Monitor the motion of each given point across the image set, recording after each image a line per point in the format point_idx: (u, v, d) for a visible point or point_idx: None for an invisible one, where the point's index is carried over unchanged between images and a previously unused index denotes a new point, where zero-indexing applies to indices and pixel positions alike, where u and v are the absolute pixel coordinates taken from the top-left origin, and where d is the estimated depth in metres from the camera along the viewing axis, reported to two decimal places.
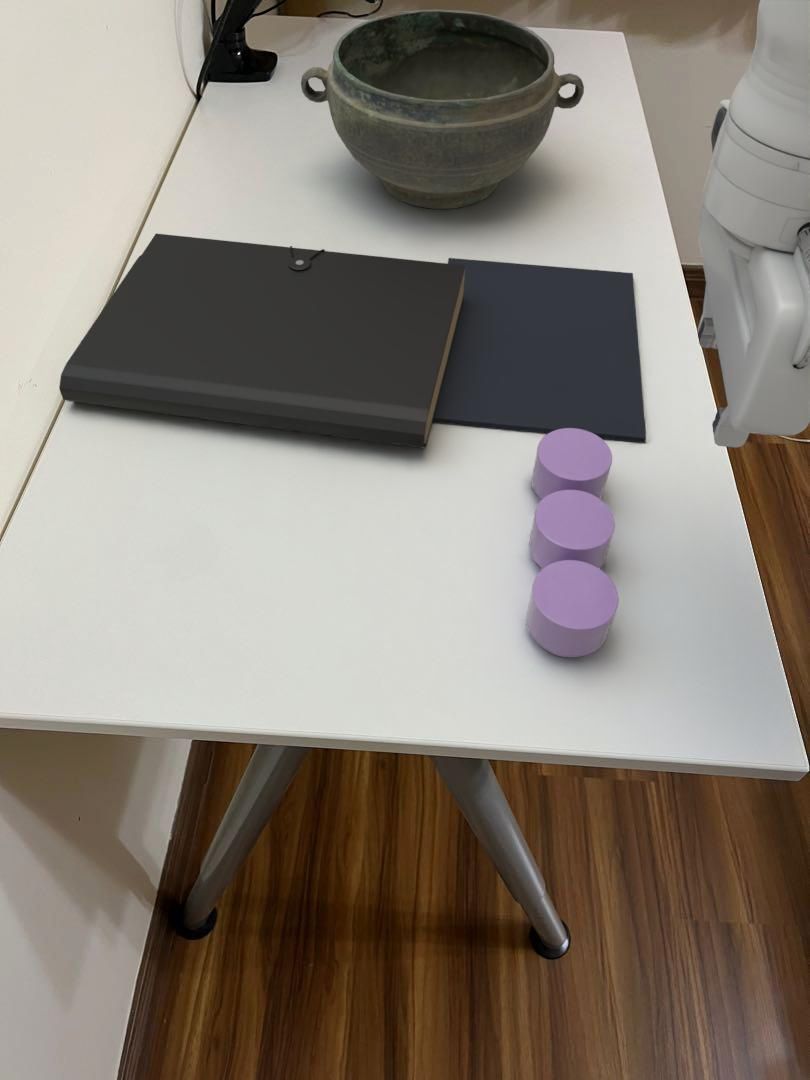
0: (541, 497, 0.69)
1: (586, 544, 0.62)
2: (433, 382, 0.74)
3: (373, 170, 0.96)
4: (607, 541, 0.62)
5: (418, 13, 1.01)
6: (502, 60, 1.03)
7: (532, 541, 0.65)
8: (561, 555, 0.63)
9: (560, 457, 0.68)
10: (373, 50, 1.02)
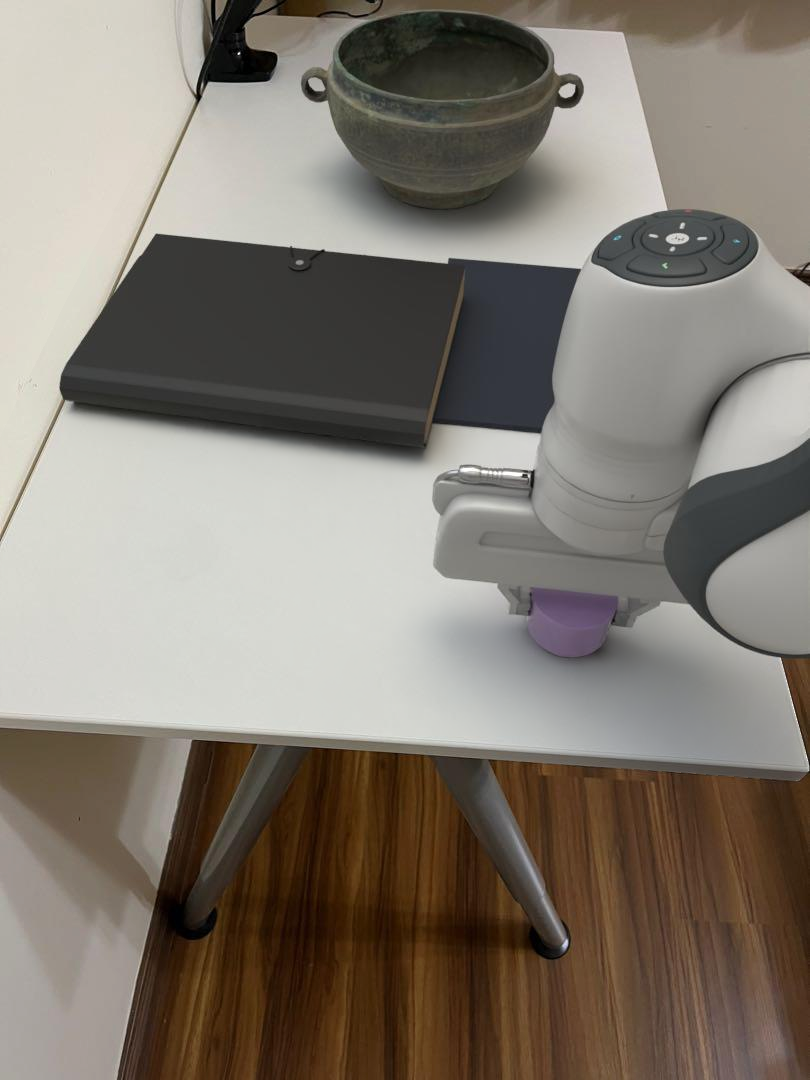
0: None
1: None
2: (433, 382, 0.74)
3: (373, 170, 0.96)
4: None
5: (418, 12, 1.01)
6: (502, 60, 1.03)
7: None
8: None
9: None
10: (373, 50, 1.02)
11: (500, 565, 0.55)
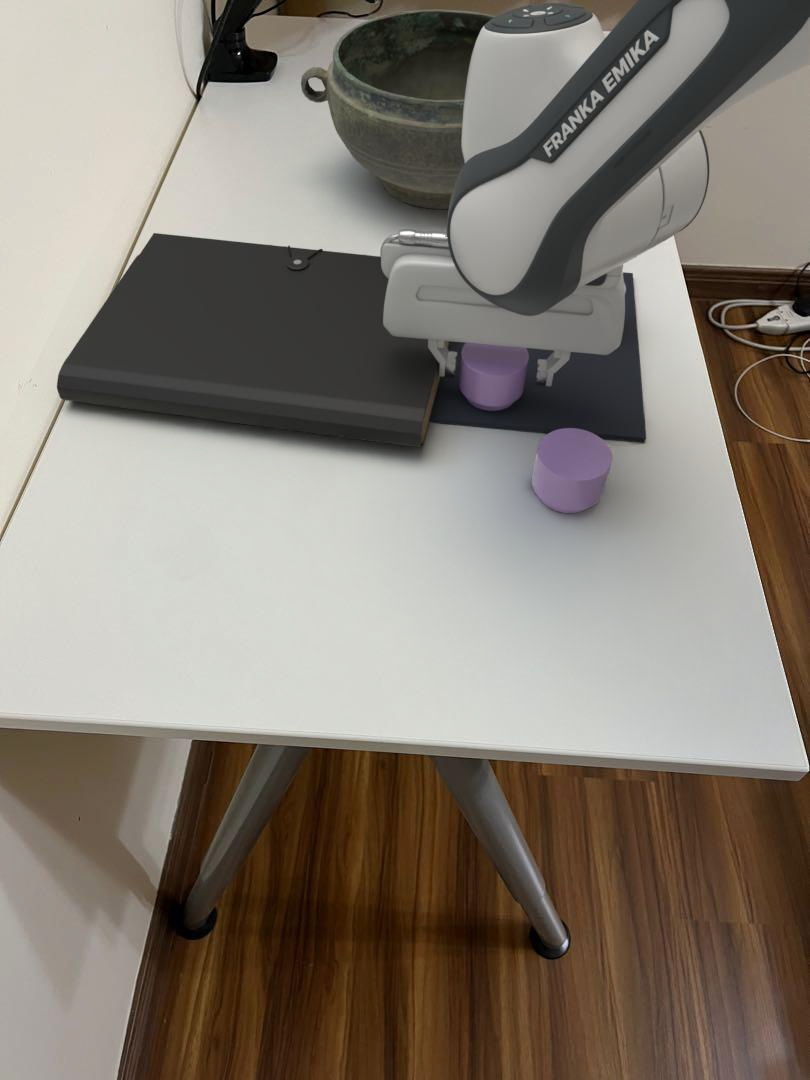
0: (541, 497, 0.69)
1: (503, 372, 0.73)
2: (430, 382, 0.74)
3: (373, 170, 0.96)
4: (521, 370, 0.74)
5: (418, 13, 1.01)
6: None
7: (460, 376, 0.76)
8: (482, 383, 0.74)
9: (560, 457, 0.68)
10: (373, 50, 1.02)
11: (434, 319, 0.71)
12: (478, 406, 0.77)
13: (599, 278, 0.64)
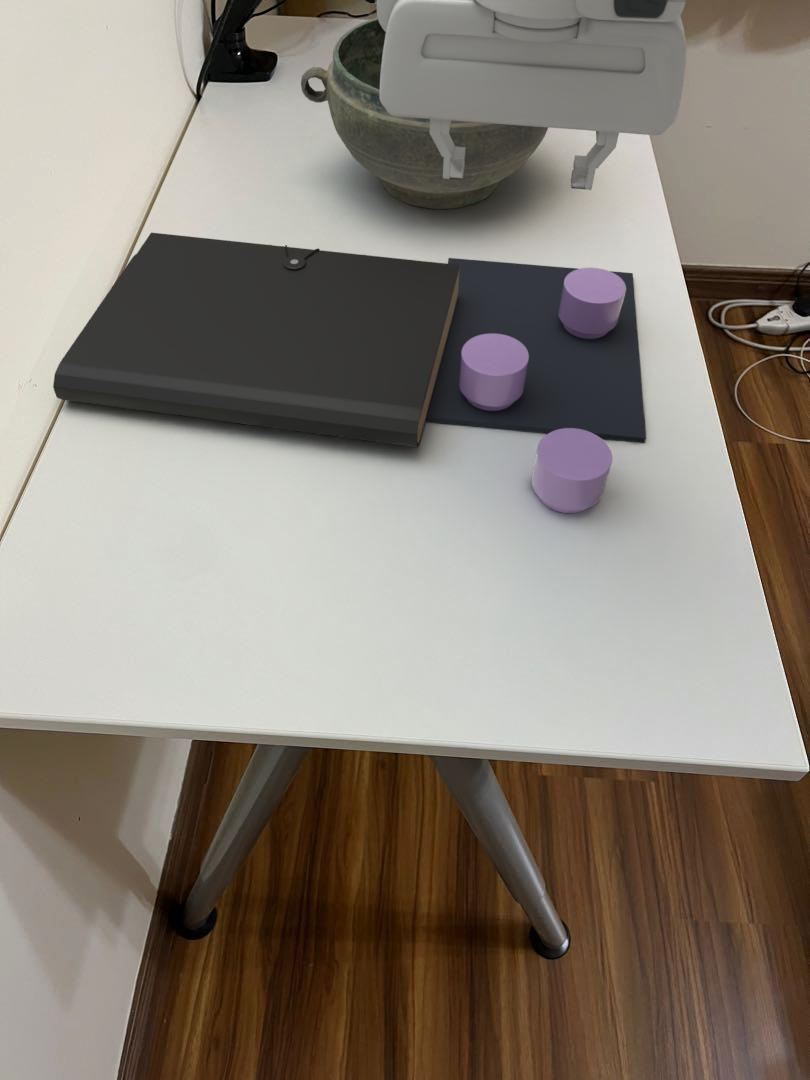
0: (541, 497, 0.69)
1: (503, 372, 0.73)
2: (426, 381, 0.74)
3: (373, 170, 0.96)
4: (521, 370, 0.74)
5: None
6: None
7: (460, 376, 0.76)
8: (482, 383, 0.74)
9: (560, 457, 0.68)
10: (373, 50, 1.02)
11: (443, 87, 0.57)
12: (478, 406, 0.77)
13: (657, 5, 0.50)
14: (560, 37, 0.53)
